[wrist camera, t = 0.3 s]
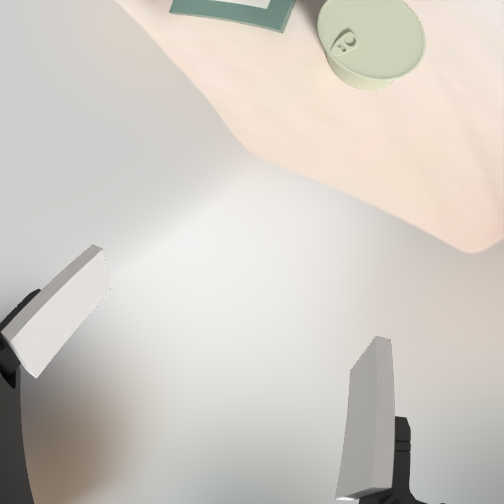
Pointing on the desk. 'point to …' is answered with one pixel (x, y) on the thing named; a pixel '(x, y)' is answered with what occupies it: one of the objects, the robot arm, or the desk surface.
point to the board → (239, 11)
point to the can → (370, 41)
